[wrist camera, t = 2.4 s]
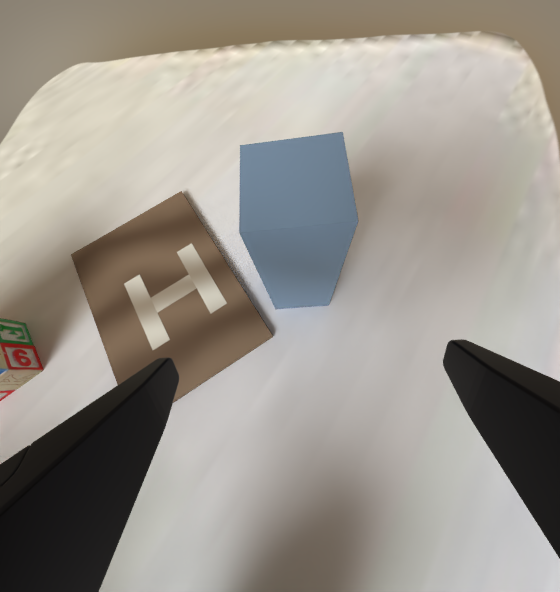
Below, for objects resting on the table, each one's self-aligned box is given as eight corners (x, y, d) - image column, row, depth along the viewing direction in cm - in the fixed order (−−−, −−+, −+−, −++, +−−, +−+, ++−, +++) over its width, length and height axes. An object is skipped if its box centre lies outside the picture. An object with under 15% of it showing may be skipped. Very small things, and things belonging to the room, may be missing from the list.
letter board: (273, 336, 22) (272, 335, 21) (138, 426, 20) (132, 427, 20) (183, 194, 28) (181, 190, 27) (76, 257, 27) (70, 254, 26)
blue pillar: (328, 305, 22) (358, 220, 10) (275, 309, 22) (239, 232, 10) (323, 257, 24) (342, 131, 11) (273, 261, 24) (240, 145, 12)
